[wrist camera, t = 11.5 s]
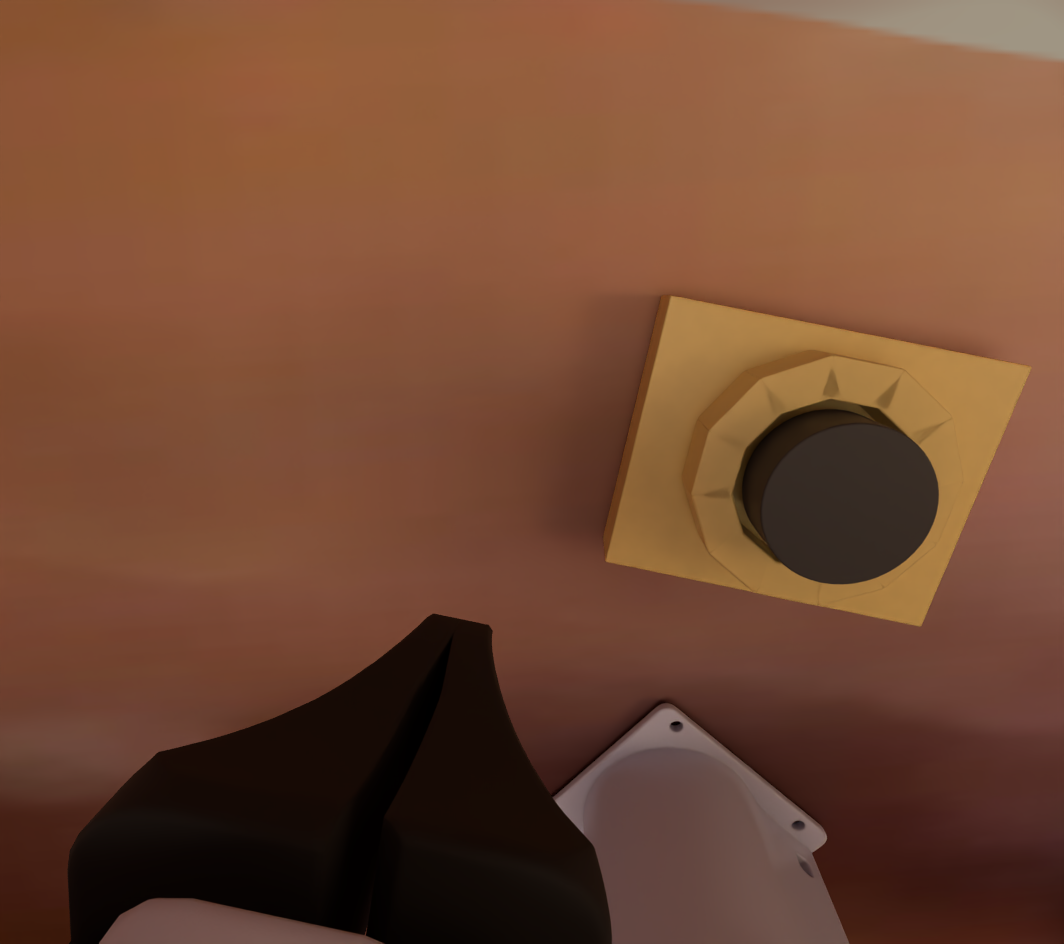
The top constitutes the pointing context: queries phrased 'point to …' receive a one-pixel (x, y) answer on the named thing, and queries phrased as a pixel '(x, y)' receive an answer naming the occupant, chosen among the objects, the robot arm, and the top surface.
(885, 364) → the plate
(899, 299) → the top surface
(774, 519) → the button
